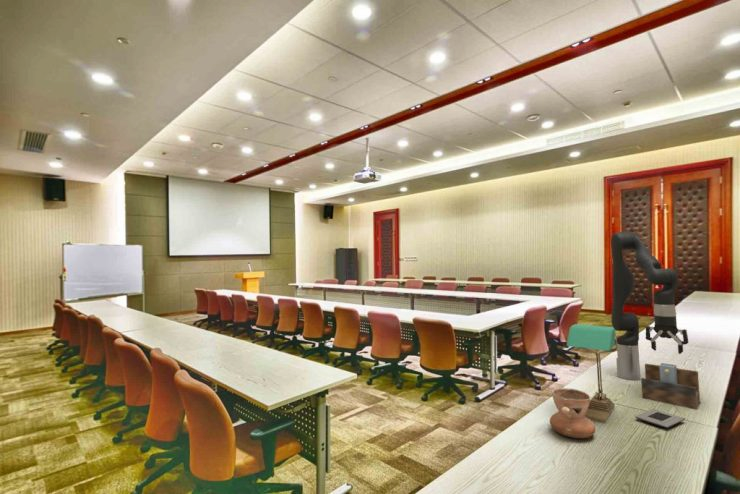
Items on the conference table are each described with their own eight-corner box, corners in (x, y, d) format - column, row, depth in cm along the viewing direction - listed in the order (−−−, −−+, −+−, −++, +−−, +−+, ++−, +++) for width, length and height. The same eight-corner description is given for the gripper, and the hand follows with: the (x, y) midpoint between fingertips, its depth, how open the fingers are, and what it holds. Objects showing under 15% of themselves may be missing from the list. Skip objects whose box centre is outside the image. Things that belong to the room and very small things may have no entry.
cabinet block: (660, 389, 157) (658, 365, 157) (663, 385, 161) (661, 362, 161) (675, 392, 153) (673, 368, 154) (677, 388, 157) (676, 365, 158)
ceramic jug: (590, 448, 120) (588, 405, 121) (543, 435, 130) (542, 395, 131) (600, 430, 134) (599, 390, 134) (557, 419, 143) (556, 382, 144)
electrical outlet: (667, 432, 130) (667, 425, 130) (635, 421, 139) (634, 415, 139) (685, 423, 136) (685, 417, 136) (653, 414, 145) (652, 407, 146)
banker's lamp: (625, 409, 149) (619, 324, 151) (615, 427, 134) (609, 332, 136) (582, 400, 160) (577, 320, 162) (568, 416, 145) (563, 328, 146)
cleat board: (642, 398, 160) (640, 368, 161) (647, 392, 167) (645, 363, 168) (696, 409, 147) (694, 377, 148) (700, 402, 154) (697, 371, 154)
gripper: (642, 314, 161) (645, 350, 161) (684, 317, 151) (687, 356, 150) (646, 311, 166) (648, 347, 166) (687, 314, 156) (690, 352, 155)
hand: (667, 351), depth 158 cm, fingers open, 8 cm apart
